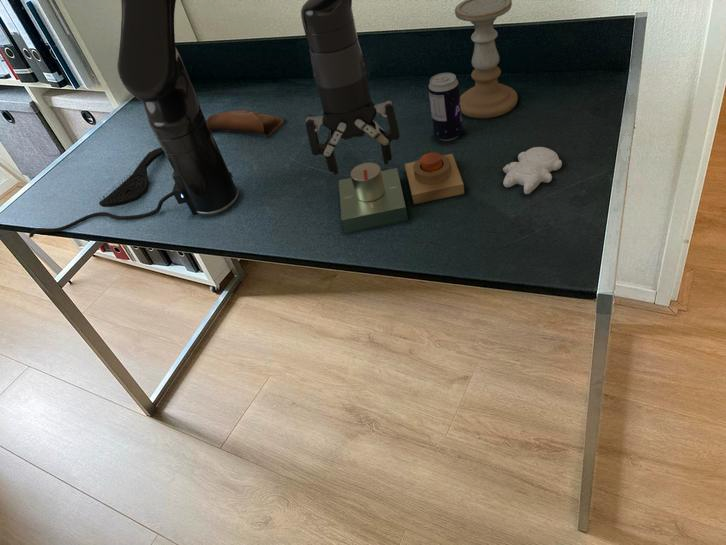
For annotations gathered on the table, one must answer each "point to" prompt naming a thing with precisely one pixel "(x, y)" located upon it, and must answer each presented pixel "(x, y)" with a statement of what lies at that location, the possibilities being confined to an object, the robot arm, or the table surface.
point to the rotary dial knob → (367, 182)
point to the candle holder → (485, 61)
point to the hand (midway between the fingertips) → (361, 167)
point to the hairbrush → (132, 183)
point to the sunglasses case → (244, 122)
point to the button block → (434, 180)
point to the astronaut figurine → (532, 168)
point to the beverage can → (445, 106)
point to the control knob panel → (372, 204)
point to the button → (431, 162)
